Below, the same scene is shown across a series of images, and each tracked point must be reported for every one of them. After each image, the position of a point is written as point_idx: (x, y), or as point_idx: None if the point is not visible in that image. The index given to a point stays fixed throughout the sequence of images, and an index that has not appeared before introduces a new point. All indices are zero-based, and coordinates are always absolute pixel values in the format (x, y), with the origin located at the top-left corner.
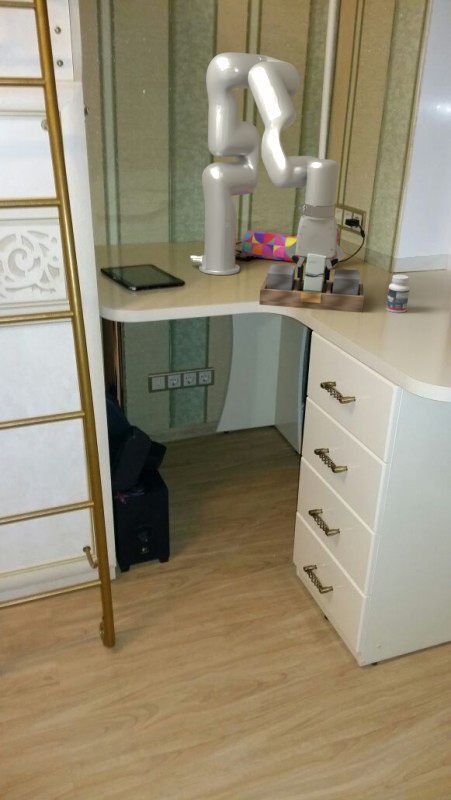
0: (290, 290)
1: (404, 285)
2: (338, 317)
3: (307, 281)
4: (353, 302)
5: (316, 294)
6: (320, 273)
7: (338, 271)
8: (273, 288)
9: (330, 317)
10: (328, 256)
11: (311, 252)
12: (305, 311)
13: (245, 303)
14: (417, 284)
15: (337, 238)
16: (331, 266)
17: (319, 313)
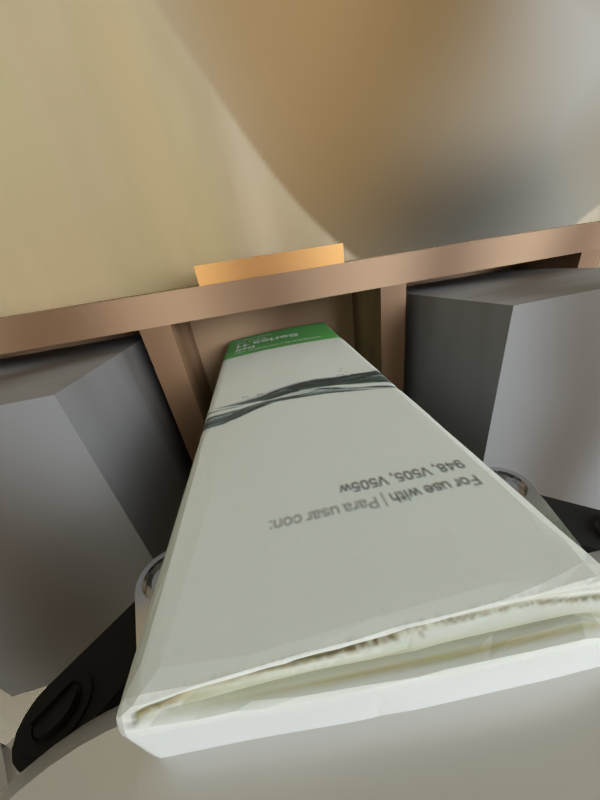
0: (422, 293)
1: None
2: (20, 127)
3: (340, 358)
4: None
5: (233, 276)
6: (236, 417)
7: None
8: (529, 275)
9: (72, 101)
10: (80, 789)
11: (594, 747)
12: (274, 195)
13: (578, 222)
14: (3, 734)
15: None
16: (138, 587)
17: (182, 184)
